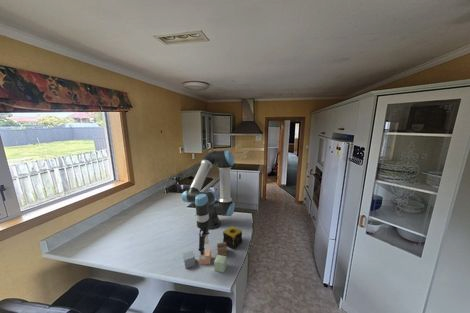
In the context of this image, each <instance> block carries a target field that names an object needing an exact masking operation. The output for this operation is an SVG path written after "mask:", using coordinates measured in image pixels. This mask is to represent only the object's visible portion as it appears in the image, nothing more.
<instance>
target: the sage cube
mask: <svg viewBox="0 0 470 313" xmlns="http://www.w3.org/2000/svg"><path fill="white" fill-rule="evenodd" d="M227 266H228V255H227V256H222V255H218V254H216V257H215V259H214V261H213V269H214V271H215V272H218V273H225V271H226V268H227Z"/></svg>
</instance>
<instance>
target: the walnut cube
mask: <svg viewBox="0 0 470 313" xmlns="http://www.w3.org/2000/svg"><path fill="white" fill-rule="evenodd" d="M216 247H217V248H216V249H217V251H216V252H217V255H222V256H227V257H228V248H227V246H226V242H224V243H223V242H219V243H216Z"/></svg>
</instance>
